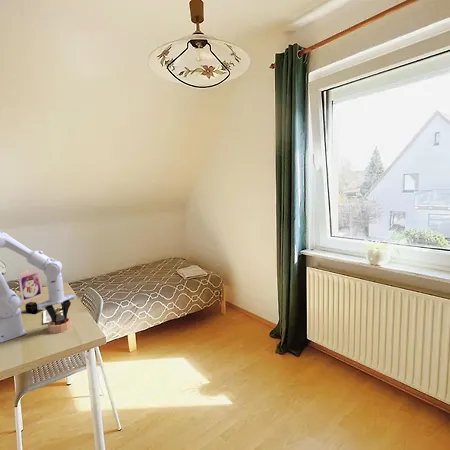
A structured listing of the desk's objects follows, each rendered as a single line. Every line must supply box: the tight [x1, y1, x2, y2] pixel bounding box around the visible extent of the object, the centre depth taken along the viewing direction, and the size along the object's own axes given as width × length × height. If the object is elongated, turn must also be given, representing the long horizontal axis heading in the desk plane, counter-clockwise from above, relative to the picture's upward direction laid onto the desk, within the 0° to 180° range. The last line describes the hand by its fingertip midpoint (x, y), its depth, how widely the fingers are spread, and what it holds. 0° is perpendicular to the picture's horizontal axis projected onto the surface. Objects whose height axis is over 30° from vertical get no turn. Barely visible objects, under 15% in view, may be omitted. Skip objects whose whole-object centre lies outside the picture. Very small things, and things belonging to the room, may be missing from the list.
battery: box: [54, 307, 65, 325], centre depth 134 cm, size 4×4×7 cm
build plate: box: [21, 301, 44, 315], centre depth 153 cm, size 12×7×5 cm, turn 73°
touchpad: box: [42, 306, 62, 324], centre depth 147 cm, size 8×15×2 cm, turn 29°
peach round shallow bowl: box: [47, 316, 73, 334], centre depth 135 cm, size 9×9×3 cm
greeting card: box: [18, 268, 44, 304], centre depth 168 cm, size 11×7×15 cm, turn 155°
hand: (59, 319), depth 134 cm, fingers closed on battery, 4 cm apart
